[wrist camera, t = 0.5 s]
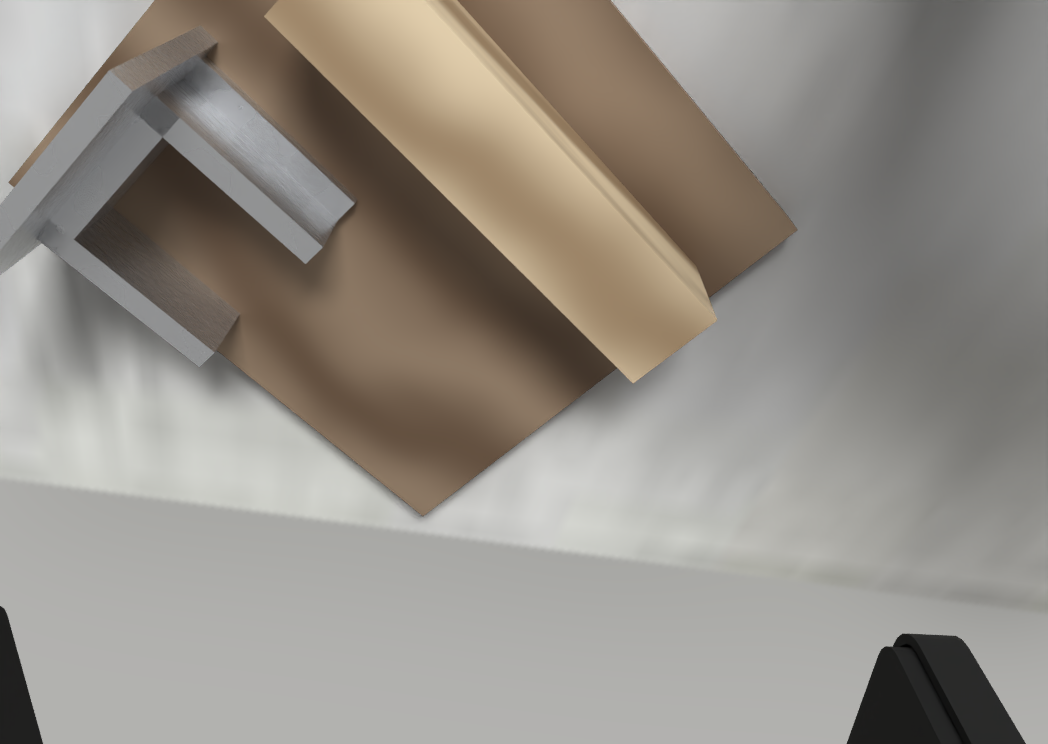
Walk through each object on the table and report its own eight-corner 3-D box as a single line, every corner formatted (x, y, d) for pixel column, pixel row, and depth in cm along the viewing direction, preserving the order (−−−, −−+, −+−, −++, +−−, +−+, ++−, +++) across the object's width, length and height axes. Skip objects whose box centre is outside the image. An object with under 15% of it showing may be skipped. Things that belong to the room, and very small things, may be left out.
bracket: (200, 25, 33) (109, 70, 26) (369, 187, 36) (328, 266, 29) (38, 219, 36) (-81, 303, 29) (201, 350, 39) (130, 455, 32)
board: (386, -274, 29) (379, -280, 28) (788, 217, 37) (797, 229, 36) (27, 171, 37) (8, 182, 36) (426, 497, 45) (423, 516, 44)
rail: (376, -91, 31) (349, -82, 26) (696, 266, 37) (717, 320, 33) (301, -5, 32) (263, 16, 28) (622, 324, 38) (633, 383, 34)
